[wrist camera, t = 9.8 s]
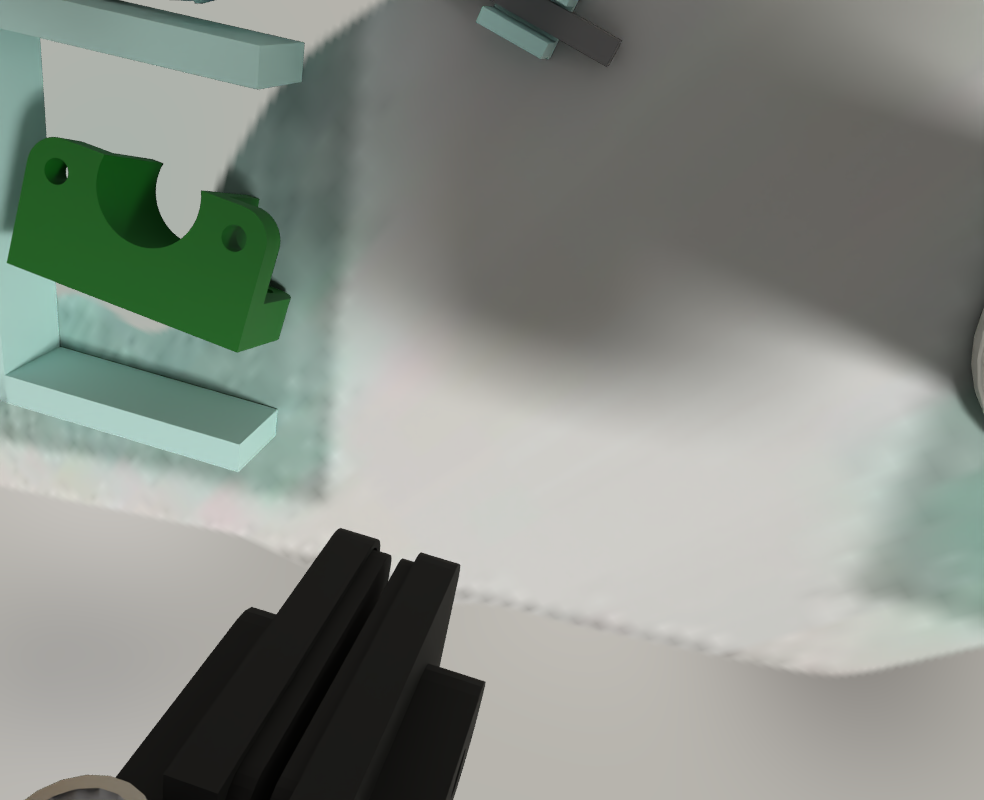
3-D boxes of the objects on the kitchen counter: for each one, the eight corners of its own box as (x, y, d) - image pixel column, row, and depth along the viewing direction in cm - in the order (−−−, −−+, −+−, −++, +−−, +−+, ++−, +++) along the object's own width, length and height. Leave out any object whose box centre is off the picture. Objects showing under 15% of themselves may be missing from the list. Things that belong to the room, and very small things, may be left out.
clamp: (310, 207, 43) (316, 231, 34) (279, 315, 44) (277, 363, 36) (61, 126, 39) (0, 129, 31) (36, 247, 40) (-29, 282, 32)
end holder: (304, 42, 35) (259, 45, 31) (275, 435, 44) (238, 472, 40) (4, -27, 37) (-71, -31, 33) (35, 365, 46) (-21, 394, 42)
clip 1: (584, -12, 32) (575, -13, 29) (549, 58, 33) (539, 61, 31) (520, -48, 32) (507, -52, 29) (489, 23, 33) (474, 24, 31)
